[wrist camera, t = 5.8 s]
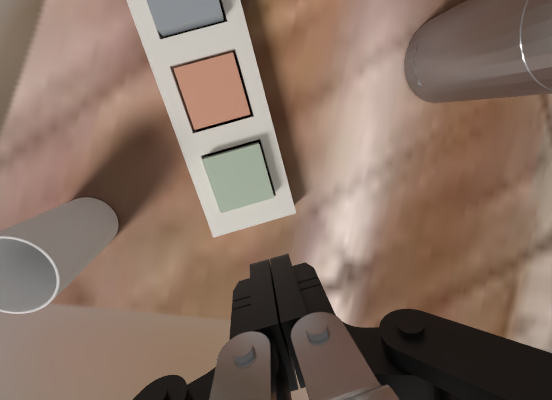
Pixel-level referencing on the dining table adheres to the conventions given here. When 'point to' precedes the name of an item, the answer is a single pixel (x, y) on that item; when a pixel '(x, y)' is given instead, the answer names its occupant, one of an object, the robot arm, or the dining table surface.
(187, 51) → the button panel
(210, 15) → the grey button
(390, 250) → the dining table surface
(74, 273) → the mug
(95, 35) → the dining table surface
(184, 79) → the terracotta button
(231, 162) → the green button
